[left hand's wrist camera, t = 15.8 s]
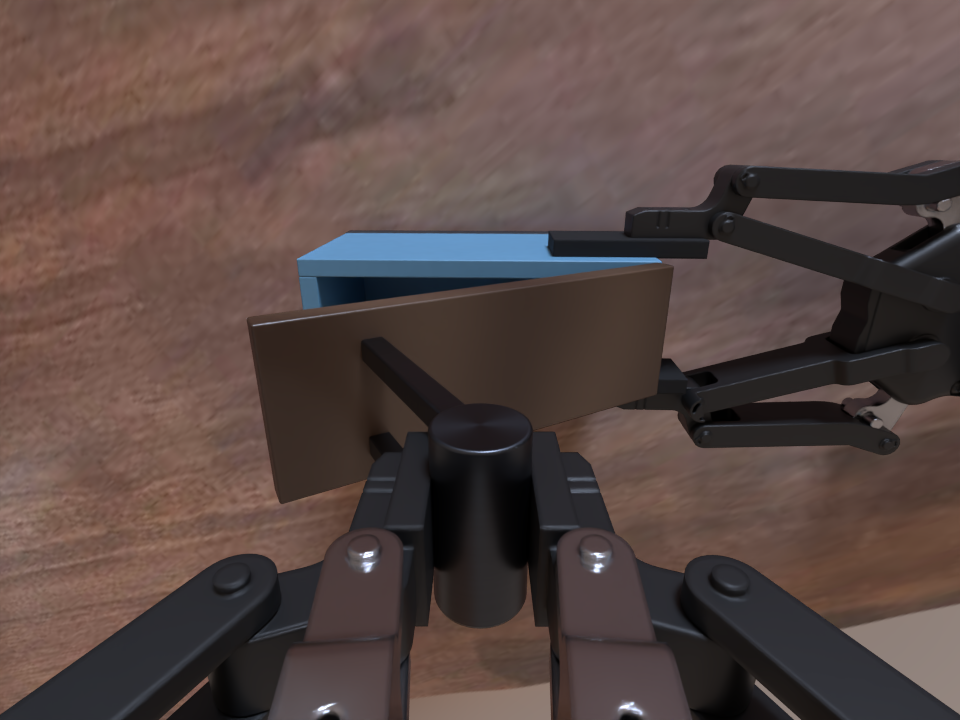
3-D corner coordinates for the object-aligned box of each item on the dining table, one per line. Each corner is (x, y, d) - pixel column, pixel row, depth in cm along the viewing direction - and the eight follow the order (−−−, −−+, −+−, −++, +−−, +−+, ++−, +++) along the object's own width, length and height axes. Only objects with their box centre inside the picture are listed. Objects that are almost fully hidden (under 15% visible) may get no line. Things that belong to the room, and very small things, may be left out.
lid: (274, 490, 17) (357, 725, 10) (245, 316, 15) (324, 461, 8) (642, 387, 24) (836, 482, 17) (657, 261, 22) (885, 312, 15)
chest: (358, 325, 32) (311, 381, 24) (349, 230, 30) (296, 258, 22) (610, 328, 32) (647, 386, 24) (619, 231, 30) (662, 261, 22)
